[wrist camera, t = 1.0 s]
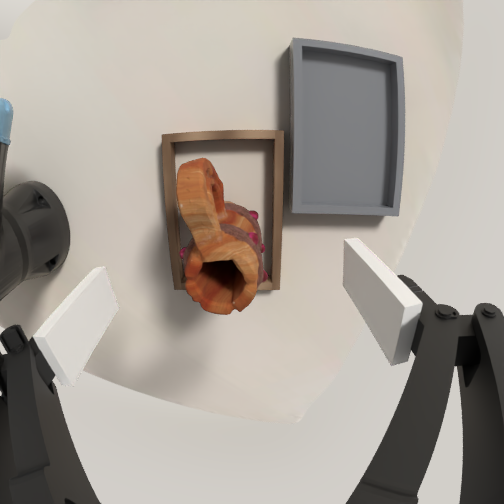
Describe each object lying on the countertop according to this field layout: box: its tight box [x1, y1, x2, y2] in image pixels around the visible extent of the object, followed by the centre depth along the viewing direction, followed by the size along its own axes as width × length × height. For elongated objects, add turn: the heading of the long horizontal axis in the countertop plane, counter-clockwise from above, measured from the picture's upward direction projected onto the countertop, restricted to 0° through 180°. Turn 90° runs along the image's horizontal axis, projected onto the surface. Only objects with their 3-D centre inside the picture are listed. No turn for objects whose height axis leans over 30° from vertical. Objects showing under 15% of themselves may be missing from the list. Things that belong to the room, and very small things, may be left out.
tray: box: [289, 38, 405, 216], centre depth 30 cm, size 14×21×3 cm, turn 0°
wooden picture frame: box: [162, 130, 284, 290], centre depth 35 cm, size 14×20×2 cm
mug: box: [176, 158, 268, 315], centre depth 29 cm, size 15×8×15 cm, turn 13°
